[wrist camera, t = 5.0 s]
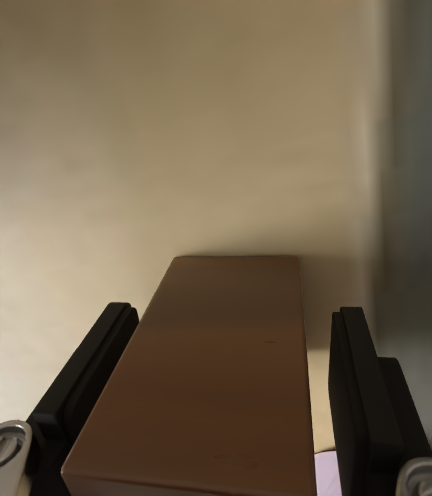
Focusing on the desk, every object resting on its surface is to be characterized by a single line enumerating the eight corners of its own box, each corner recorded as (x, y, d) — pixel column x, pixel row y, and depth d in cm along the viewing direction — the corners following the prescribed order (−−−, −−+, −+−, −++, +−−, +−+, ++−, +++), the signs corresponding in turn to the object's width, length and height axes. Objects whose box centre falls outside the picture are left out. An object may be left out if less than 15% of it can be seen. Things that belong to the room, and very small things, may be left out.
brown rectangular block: (173, 256, 12) (55, 471, 6) (299, 255, 11) (318, 503, 5) (189, 349, 14) (113, 587, 8) (299, 354, 13) (312, 623, 7)
